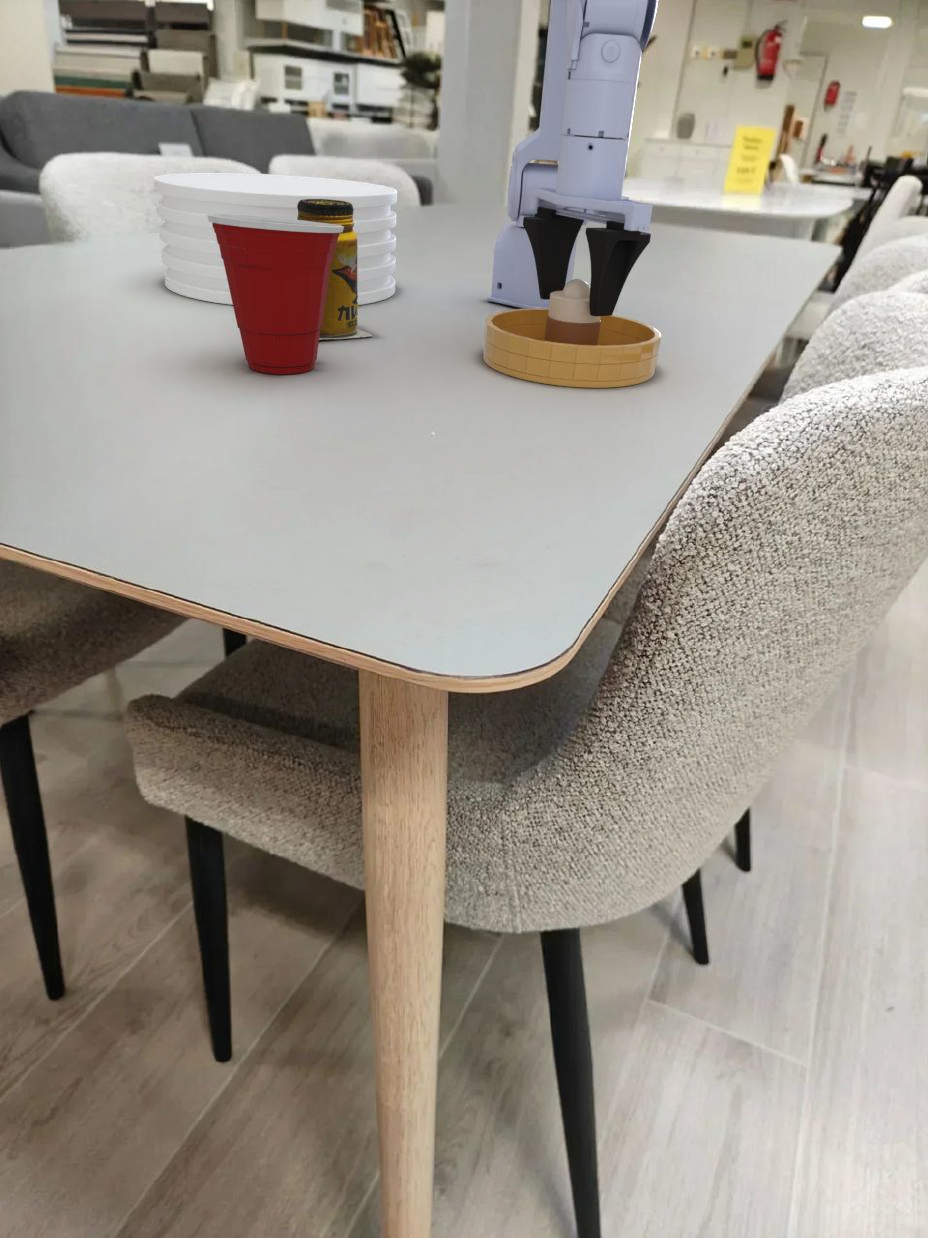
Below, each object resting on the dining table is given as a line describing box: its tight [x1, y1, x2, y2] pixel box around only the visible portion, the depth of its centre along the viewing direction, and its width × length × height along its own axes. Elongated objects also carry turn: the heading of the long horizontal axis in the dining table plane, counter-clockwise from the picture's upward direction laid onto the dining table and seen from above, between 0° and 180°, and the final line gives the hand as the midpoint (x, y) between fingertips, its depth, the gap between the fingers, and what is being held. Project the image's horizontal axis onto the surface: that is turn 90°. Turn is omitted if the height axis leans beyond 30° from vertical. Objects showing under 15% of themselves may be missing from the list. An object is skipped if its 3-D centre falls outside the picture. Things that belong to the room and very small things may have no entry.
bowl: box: [482, 308, 662, 389], centre depth 81 cm, size 16×16×4 cm
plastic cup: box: [207, 214, 344, 375], centre depth 72 cm, size 11×11×12 cm
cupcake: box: [544, 278, 601, 346], centre depth 79 cm, size 5×5×7 cm
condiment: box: [297, 199, 373, 341], centre depth 84 cm, size 7×8×12 cm
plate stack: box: [153, 172, 398, 306], centre depth 104 cm, size 28×28×12 cm
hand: (575, 306), depth 79 cm, fingers open, 7 cm apart
